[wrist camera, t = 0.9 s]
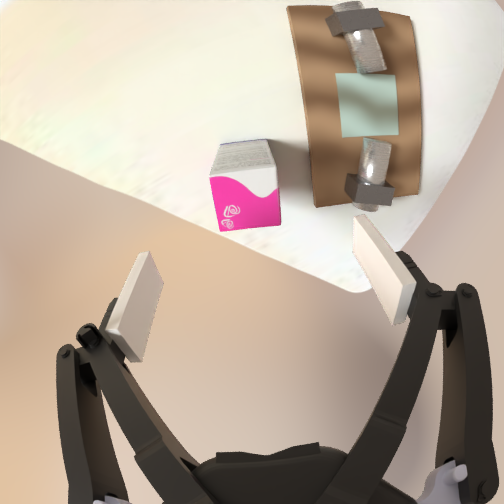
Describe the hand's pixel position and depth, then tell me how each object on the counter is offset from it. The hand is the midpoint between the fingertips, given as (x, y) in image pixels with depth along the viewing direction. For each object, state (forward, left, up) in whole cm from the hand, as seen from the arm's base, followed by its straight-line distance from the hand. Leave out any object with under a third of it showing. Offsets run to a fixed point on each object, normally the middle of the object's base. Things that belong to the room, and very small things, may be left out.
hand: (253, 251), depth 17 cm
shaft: (+2, +15, -17) cm, 23 cm away
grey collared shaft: (-15, +15, -17) cm, 27 cm away
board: (-6, +16, -19) cm, 25 cm away
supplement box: (0, 0, -19) cm, 19 cm away
